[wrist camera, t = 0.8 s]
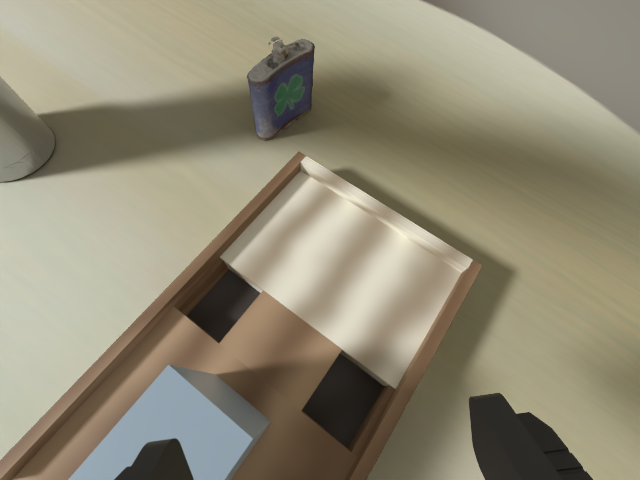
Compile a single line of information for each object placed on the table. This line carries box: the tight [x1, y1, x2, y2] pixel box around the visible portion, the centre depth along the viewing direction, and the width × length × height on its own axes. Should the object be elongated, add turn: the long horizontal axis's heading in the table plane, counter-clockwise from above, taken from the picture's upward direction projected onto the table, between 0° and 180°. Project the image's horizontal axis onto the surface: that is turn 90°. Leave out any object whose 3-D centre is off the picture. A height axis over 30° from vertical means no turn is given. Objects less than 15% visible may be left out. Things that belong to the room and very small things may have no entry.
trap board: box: [0, 152, 482, 480], centre depth 30 cm, size 22×36×4 cm, turn 144°
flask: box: [247, 37, 315, 141], centre depth 39 cm, size 9×3×11 cm, turn 137°
